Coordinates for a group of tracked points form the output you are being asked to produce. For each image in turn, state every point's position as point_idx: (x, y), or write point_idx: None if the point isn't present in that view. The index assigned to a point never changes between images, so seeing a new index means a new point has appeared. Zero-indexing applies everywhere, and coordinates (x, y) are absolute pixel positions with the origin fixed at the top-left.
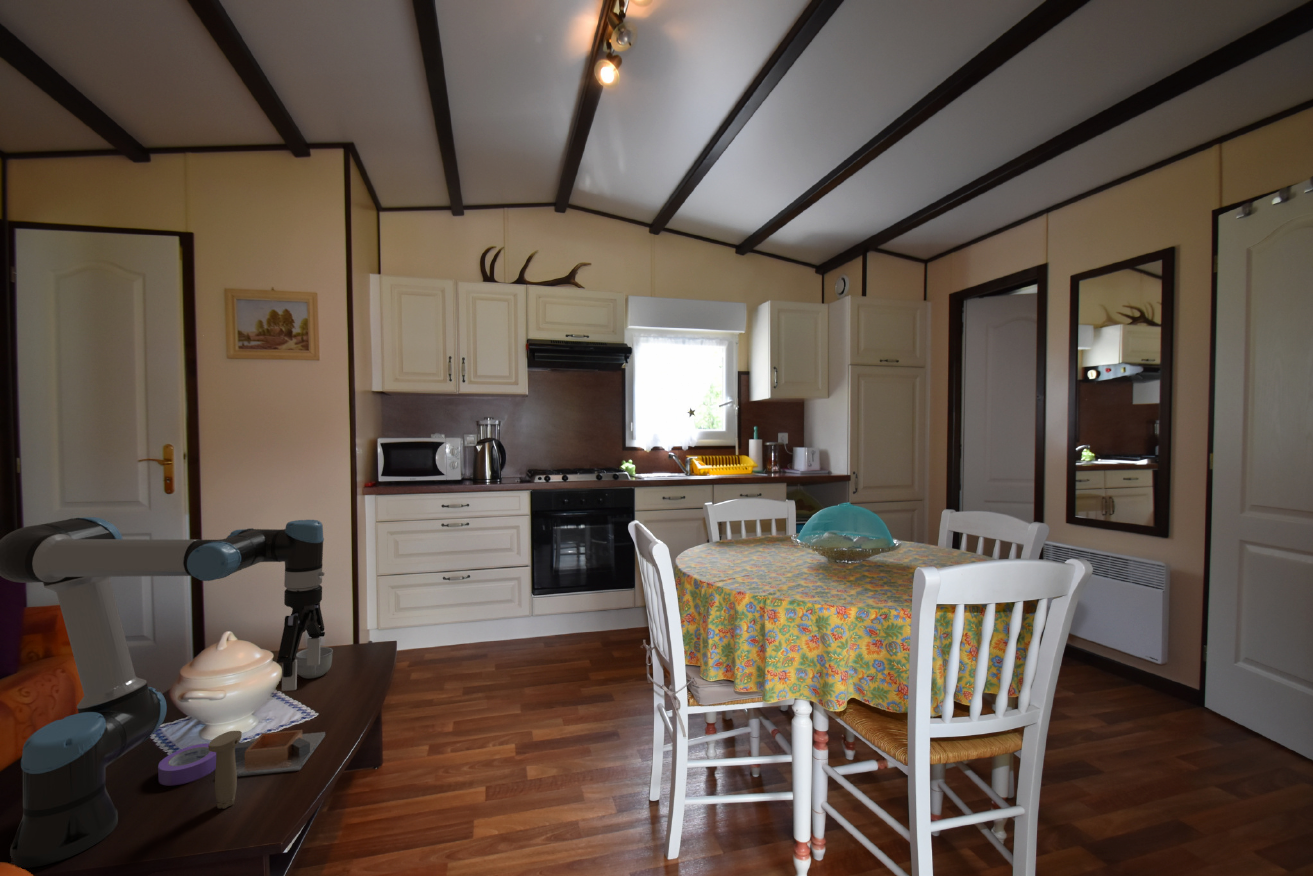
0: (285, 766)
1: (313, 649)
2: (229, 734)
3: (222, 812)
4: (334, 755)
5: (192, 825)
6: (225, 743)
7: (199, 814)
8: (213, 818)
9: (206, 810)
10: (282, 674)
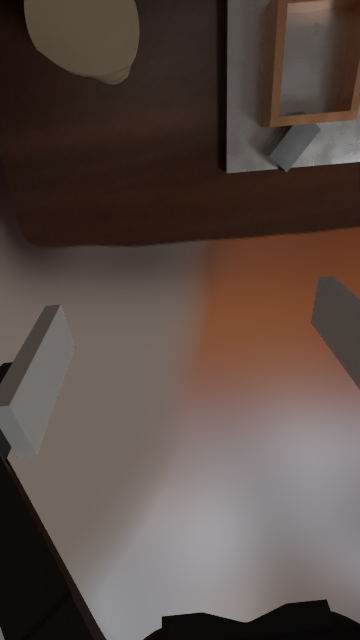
0: (232, 138)
1: (352, 349)
2: (110, 19)
3: None
4: (267, 220)
5: None
6: (47, 52)
7: None
8: None
9: None
10: (19, 354)
